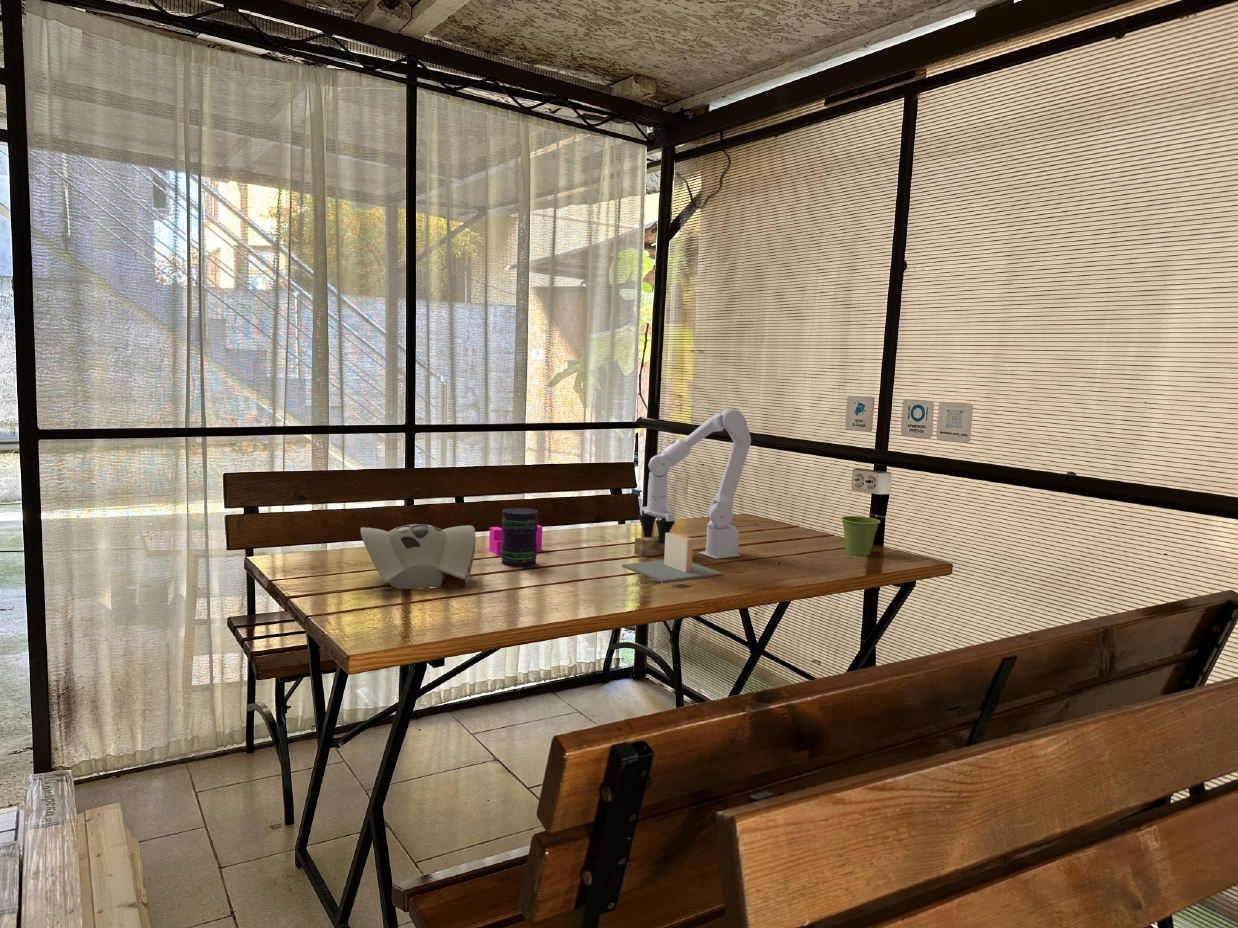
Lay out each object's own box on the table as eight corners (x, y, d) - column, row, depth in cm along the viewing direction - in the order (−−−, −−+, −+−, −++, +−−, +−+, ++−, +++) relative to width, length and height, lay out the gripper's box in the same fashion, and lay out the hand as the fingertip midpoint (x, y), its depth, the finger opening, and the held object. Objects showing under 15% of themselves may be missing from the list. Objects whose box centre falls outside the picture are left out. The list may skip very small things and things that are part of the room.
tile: (669, 563, 242) (671, 532, 241) (691, 571, 234) (693, 539, 233) (664, 564, 241) (665, 532, 240) (685, 572, 233) (687, 539, 232)
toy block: (496, 557, 245) (497, 531, 244) (489, 552, 250) (489, 527, 250) (545, 553, 252) (545, 528, 251) (536, 549, 258) (537, 524, 257)
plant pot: (835, 556, 264) (838, 520, 263) (841, 549, 275) (843, 514, 274) (875, 560, 260) (878, 524, 258) (879, 553, 271) (882, 518, 269)
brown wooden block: (666, 551, 262) (667, 535, 262) (674, 554, 259) (675, 537, 258) (634, 554, 255) (635, 538, 255) (642, 557, 252) (642, 540, 252)
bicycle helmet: (463, 557, 232) (468, 505, 226) (481, 608, 210) (487, 552, 204) (354, 561, 222) (357, 506, 216) (362, 615, 200) (365, 556, 194)
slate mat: (680, 560, 250) (680, 558, 250) (721, 574, 234) (721, 572, 234) (622, 566, 239) (622, 564, 239) (662, 582, 223) (662, 580, 223)
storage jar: (544, 564, 237) (545, 511, 236) (516, 569, 230) (518, 515, 229) (520, 558, 244) (522, 506, 242) (493, 563, 237) (494, 509, 235)
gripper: (632, 492, 259) (630, 537, 261) (660, 500, 247) (658, 546, 248) (651, 491, 263) (649, 535, 264) (680, 499, 251) (677, 544, 252)
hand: (654, 540), depth 257 cm, fingers open, 7 cm apart
